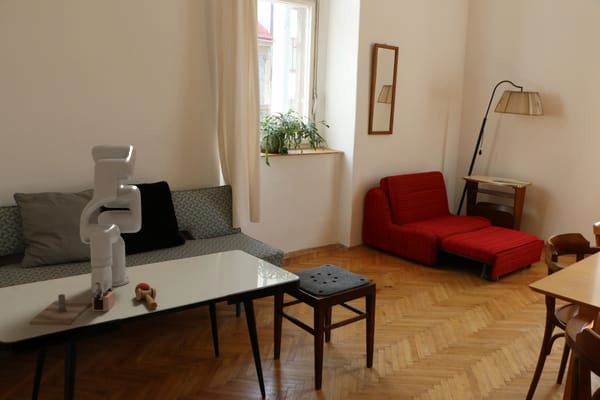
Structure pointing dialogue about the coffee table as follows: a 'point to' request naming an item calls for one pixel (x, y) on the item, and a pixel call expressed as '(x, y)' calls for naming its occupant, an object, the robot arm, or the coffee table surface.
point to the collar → (106, 301)
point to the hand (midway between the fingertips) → (103, 304)
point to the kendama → (146, 294)
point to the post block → (61, 312)
